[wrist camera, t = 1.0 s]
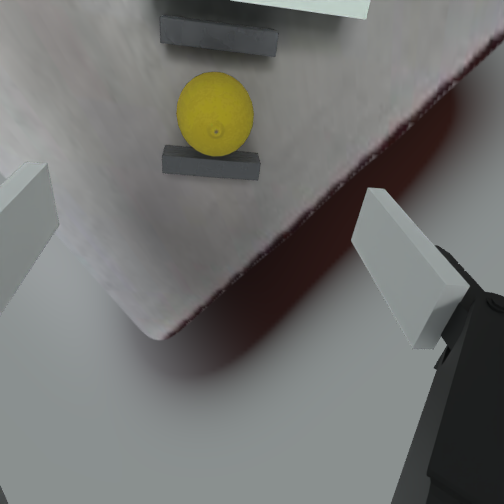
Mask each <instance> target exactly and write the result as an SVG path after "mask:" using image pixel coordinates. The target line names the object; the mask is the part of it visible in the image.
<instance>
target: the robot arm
mask: <svg viewBox="0 0 504 504" xmlns="http://www.w3.org/2000/svg"><path fill="white" fill-rule="evenodd" d="M58 226H59V221H58V216H57V210H56V205H55V200H54V195H53V190H52V185H51V180H50V174H49V169H48V164H47V163H35V162H25V163H24V164H23V165H22V166H21V167H20V168H19V169H18V170H17V171H16V172H14V173H13V174H12V175H11V176H10V177H9V178H8V179H7V180H6V181H5V182H4V183H3V184H1V186H0V316H1V314H2V312H3V311H4V309H5V308H6V306H7V305H8V303H9V301H10V300H11V299H12V297H13V296H14V294H15V292H16V291H17V289H18V288H19V286H20V285H21V283H22V282H23V280H24V279H25V277H26V275H27V274H28V272H29V271H30V269H31V268H32V266H33V265H34V263H35V261H36V260H37V258H38V257H39V255H40V254H41V252H42V251H43V249H44V248H45V246H46V244H47V243H48V241H49V240H50V238H51V237H52V235H53V234H54V232H55V231H56V229H57V228H58ZM351 241H352V243H353V245H354V247H355V248H356V250H357V252H358V254H359V256H360V257H361V259H362V261H363V263H364V264H365V266H366V268H367V269H368V271H369V273H370V275H371V277H372V278H373V280H374V282H375V284H376V286H377V287H378V289H379V291H380V293H381V294H382V296H383V298H384V300H385V302H386V303H387V305H388V307H389V309H390V310H391V312H392V314H393V316H394V317H395V319H396V321H397V323H398V324H399V326H400V328H401V330H402V332H403V333H404V335H405V337H406V338H407V340H408V342H409V344H410V346H411V347H412V349H434V347H435V346H436V344H437V342H438V341H439V339H440V337H441V336H442V338H443V339H444V341H445V342H446V344H447V346H446V348H445V350H444V352H443V353H442V355H441V356H440V358H439V360H438V361H437V363H436V365H435V366H434V368H435V369H436V370H437V371H436V374H435V377H434V379H433V383H432V385H431V388H430V392H429V394H428V397H427V400H426V403H425V406H424V409H423V412H422V415H421V418H420V420H419V423H418V426H417V429H416V432H415V435H414V438H413V441H412V444H411V447H410V449H409V452H408V455H407V458H406V461H405V464H404V467H403V470H402V473H401V476H400V479H399V482H398V485H397V487H396V490H395V493H394V496H393V499H392V502H391V504H504V297H503V296H501V295H498V294H495V293H489V292H485V291H484V290H483V289H482V288H481V287H480V286H479V285H478V284H477V283H476V282H475V280H474V279H473V278H472V277H471V276H470V275H469V274H468V273H467V272H466V271H464V268H463V267H462V266H461V265H460V264H458V262H457V261H456V260H455V259H454V258H453V256H452V255H451V254H450V253H448V252H446V251H445V250H444V249H442V248H441V247H439V246H435V245H433V243H432V242H431V241H430V240H429V239H428V238H427V237H426V236H425V234H424V233H423V232H422V231H421V230H420V229H419V228H418V226H417V225H416V224H415V223H414V222H413V221H412V220H411V219H410V217H409V216H408V215H407V214H406V213H405V212H404V211H403V209H402V208H401V207H400V206H399V205H398V204H397V203H396V202H395V200H394V199H393V198H392V197H391V196H390V195H389V194H388V193H387V191H386V190H385V189H379V188H368V189H367V192H366V195H365V198H364V201H363V205H362V208H361V211H360V214H359V217H358V220H357V224H356V227H355V230H354V233H353V236H352V239H351ZM0 504H8V502H7V500H6V497H5V495H4V493H3V491H2V488H1V486H0Z"/></svg>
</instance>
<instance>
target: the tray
mask: <svg viewBox="0 0 504 504" xmlns="http://www.w3.org/2000/svg"><path fill="white" fill-rule="evenodd" d="M232 1H239V2H246V3H253V4H260V5H267V6H274V7H281V8H288V9H295V10H302V11H309V12H316V13H323V14H330V15H337V16H344V17H351V18H358V19H364V20H366V17H367V13H368V9H369V5H370V1H371V0H232Z"/></svg>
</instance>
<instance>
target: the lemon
mask: <svg viewBox="0 0 504 504" xmlns="http://www.w3.org/2000/svg"><path fill="white" fill-rule="evenodd" d="M176 114H177V121H178V126H179V128H180V131H181V133H182V135H183V137H184V138H185V140H186V141H187V142H188V144H189V145H191V146H192V147H193V148H194V149H195V150H197V151H199V152H201V153H203V154H205V155H209V156H224V155H227V154H230V153H232V152H234V151H236V150H237V149H238V148H239V147H240V146H242V145H243V144H244V142H245V141H246V139H247V138H248V136H249V134H250V131H251V128H252V125H253V116H254V112H253V106H252V101H251V99H250V97H249V94H248V92H247V91H246V89H245V88H244V87H243V85H242V84H241V83H240V82H238V81H237V80H236V79H235V78H233V77H232V76H229V75H227V74H225V73H220V72H208V73H203V74H201V75H198V76H196V77H195V78H193V79H192V80H191V81H190V82H188V83H187V85H186V86H185V87H184V89H183V90H182V92H181V94H180V97H179V100H178V102H177V113H176Z"/></svg>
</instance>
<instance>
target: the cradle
mask: <svg viewBox="0 0 504 504" xmlns="http://www.w3.org/2000/svg"><path fill="white" fill-rule="evenodd" d="M278 34H279V33H278V32H277V31H275V30H273V29H265V28H258V27H250V26H243V25H235V24H228V23H220V22H213V21H206V20H198V19H191V18H183V17H176V16H168V15H163V16H161V17H160V43H166V44H174V45H182V46H191V47H199V48H207V49H215V50H223V51H231V52H239V53H247V54H255V55H263V56H271V57H275V56H276V49H277V42H278ZM162 171H163V173H167V174H180V175H193V176H206V177H219V178H232V179H245V180H258V178H259V171H260V160H259V157H258V153H251V152H239V151H234V152H232V153H230V154H227V155H224V156H209V155H205V154H203V153H201V152H199V151H197V150H195V149H194V148H193V147H182V146H170V145H165V148H164V152H163V155H162Z"/></svg>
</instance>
